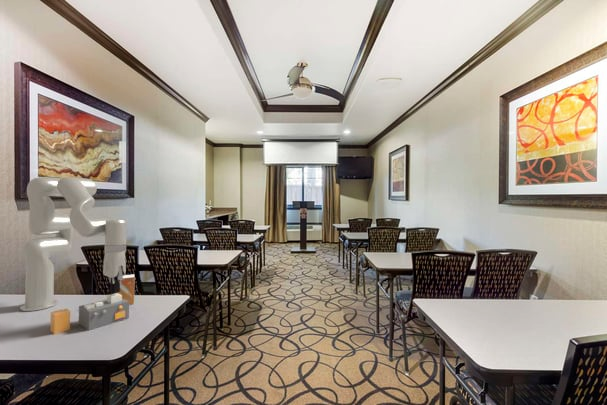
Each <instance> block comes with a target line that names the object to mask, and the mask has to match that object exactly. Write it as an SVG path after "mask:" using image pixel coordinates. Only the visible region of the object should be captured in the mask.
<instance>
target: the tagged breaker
mask: <svg viewBox="0 0 607 405" xmlns="http://www.w3.org/2000/svg"><path fill="white" fill-rule="evenodd" d="M106 300H107V303H110V304H113V303H117V302H120V301H122V295H121V294H118V293H116V294H114V293H113V294H112V293H111V294H108V295H106Z"/></svg>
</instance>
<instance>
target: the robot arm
mask: <svg viewBox="0 0 607 405" xmlns="http://www.w3.org/2000/svg"><path fill="white" fill-rule="evenodd" d="M97 189H98V188H97V184H96V183H95V182H94V181H93V180H92V179H90V178H84V177H83V178H81V177H74V176H73V177H72V176H71V177H70V176H69V177H67V176H66V177H63V178H62V177H61V178H59V177H50V176H49V177H48V176H47V177H46V176H43V177H42V176H40V177H39V176H38V177H34V178H33V179H31V180H30V181H29V182H28V183H27V186H26V195H27V199H28V202H29V215H28V216H29V217H28V231H29V232H30V234H32V235H36V236H41V235H55V236H45V237H37V238H31V239H29V240H27V241H26V242H25V243H24V245H23V247H22V252H23V256H24V260H25V292H24V294H25V295H24V304H22V305H21V306H20V307H19V310H20V311H21V312H33V311H40V310H41V311H42V310H45V309H48V308H49V309H50V308H53V307H55V306H56V305H58V302H59V301H58V299H54V296H55V295H54V292H55V285H54V283H55V266H54V263H52V261H51V260H50V259H49V258H52V257H59V256H65V255H67V254H69V253H70V252H71V250H72V248H73V239H74V238H73V236H74V230H75V231H76V232H77V234H78V235H79V236H81V237H83V238H95V237H104V255H103V256H104V257H103V266H102V267H103V268H102V273H103V275H104V277H108V278H109V279H108V280H109V281H108V282H109V294H111V295H112V294H114V293H117V292H120V282H121V280H122V279H123V276H124V275H126V269H127V264H126V263H127V262H126V252H127V221H126V220H125V219H122V218H115V219H114V218H111V217H110V218H107V217H105V218H101V217H100V218H88V217H87V216H86V215H85V212H87V211H89V210H90V209H92V208H93V207H94V205H95V203H96V201H95V198H94V197H93V196H94V195H96V194H97ZM51 197H62V198H64V199H65V201H66V202H67V203H68V204H69V206H70V207H71V210H70V213H69V215H68V214H65V213H55V212H56V210H55V209H56V206H55V203H54V201H53V200H52V198H51Z"/></svg>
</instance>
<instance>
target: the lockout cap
mask: <svg viewBox="0 0 607 405" xmlns="http://www.w3.org/2000/svg"><path fill="white" fill-rule="evenodd" d="M69 330H71V310H69V309H68V308H62V309H57V310H55V311H50V332H51V333H53V334H54V335H57V334H59V333H63V332H66V331H69Z"/></svg>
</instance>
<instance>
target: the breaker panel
mask: <svg viewBox="0 0 607 405" xmlns="http://www.w3.org/2000/svg"><path fill="white" fill-rule="evenodd" d="M129 318H130V304H129V301H127V300H125V299H122V301H120V302H117V303H113V304H110V303H107V299H103V300H100V301H95V302H92V303H91V302H90V303H87V304H83V305H80V306H78V325H80V326H81V327H83V328H84V329H86V330H88V331H92V330H94V329H98V328H101V327H104V326H108V325H110V324H114V323H118V322H120V321H124V320H127V319H129Z"/></svg>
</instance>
